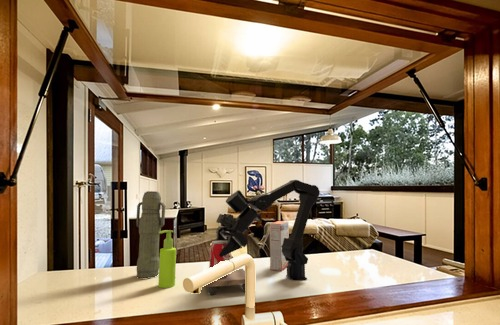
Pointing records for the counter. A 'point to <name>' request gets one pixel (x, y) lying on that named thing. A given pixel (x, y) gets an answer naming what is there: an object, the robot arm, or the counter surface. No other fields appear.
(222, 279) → the tan square tray
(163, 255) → the soap dispenser
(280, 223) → the cracker box
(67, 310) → the counter surface
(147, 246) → the thermos
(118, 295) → the counter surface
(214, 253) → the soda can
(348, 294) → the counter surface
